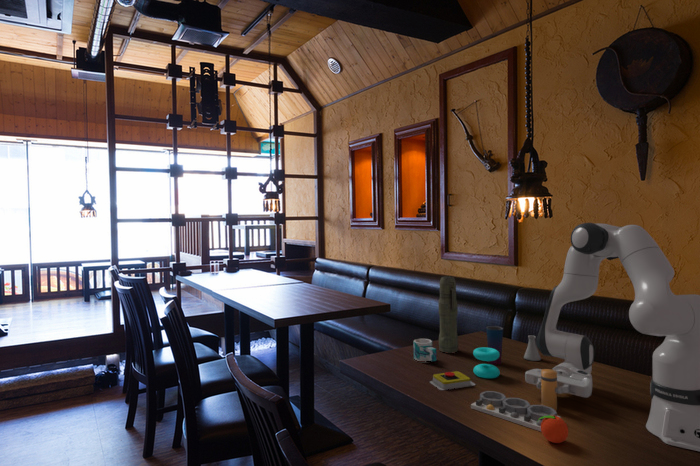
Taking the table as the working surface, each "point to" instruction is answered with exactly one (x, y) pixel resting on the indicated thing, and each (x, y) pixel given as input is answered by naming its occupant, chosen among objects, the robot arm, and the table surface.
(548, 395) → the orange-brown tall cylinder
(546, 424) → the clementine
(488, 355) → the donuts
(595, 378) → the table surface
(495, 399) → the grey piece
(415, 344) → the mug
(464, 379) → the emergency button
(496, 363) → the cup
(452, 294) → the thermos
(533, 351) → the flask
